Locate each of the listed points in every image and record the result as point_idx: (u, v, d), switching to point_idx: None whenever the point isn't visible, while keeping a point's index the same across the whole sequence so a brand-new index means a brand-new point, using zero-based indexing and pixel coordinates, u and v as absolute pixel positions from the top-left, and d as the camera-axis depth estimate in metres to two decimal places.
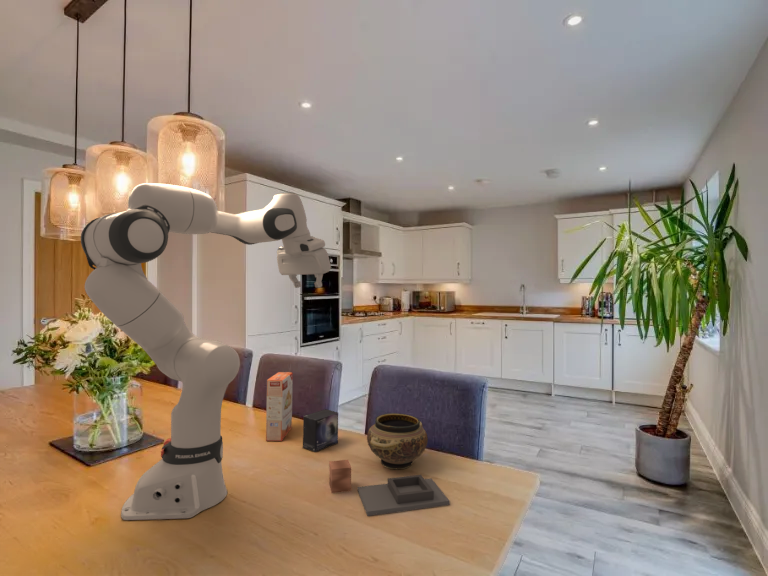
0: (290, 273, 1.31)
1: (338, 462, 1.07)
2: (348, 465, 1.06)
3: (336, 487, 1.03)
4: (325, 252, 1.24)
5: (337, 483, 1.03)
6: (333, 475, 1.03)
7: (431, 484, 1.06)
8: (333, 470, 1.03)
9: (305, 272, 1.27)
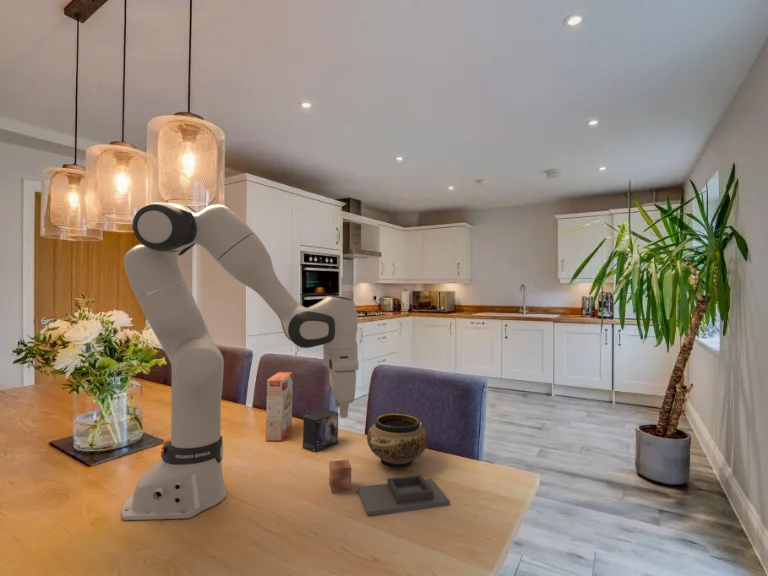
0: (331, 387, 1.10)
1: (338, 462, 1.07)
2: (348, 465, 1.06)
3: (336, 487, 1.03)
4: (351, 378, 0.97)
5: (337, 483, 1.03)
6: (333, 475, 1.03)
7: (431, 484, 1.06)
8: (333, 470, 1.03)
9: (335, 393, 1.04)
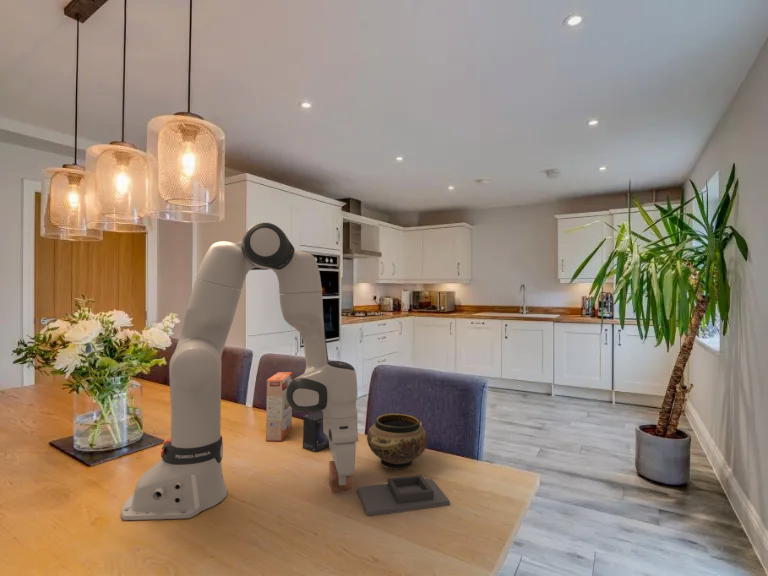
0: None
1: None
2: None
3: (336, 487, 1.03)
4: (351, 450, 0.97)
5: (337, 483, 1.03)
6: (333, 475, 1.03)
7: (431, 484, 1.06)
8: (333, 470, 1.03)
9: (334, 461, 1.03)
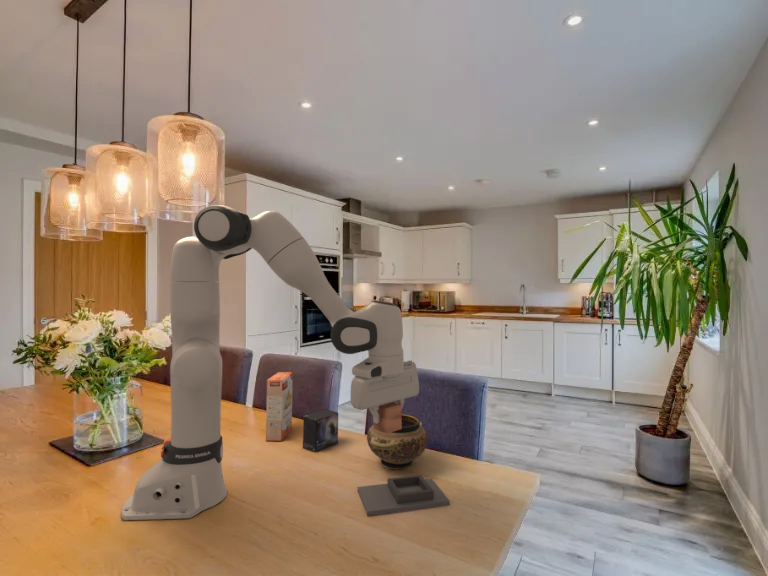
0: None
1: (390, 403, 1.05)
2: (389, 407, 1.01)
3: (376, 424, 1.03)
4: (359, 385, 0.96)
5: None
6: None
7: (431, 484, 1.06)
8: None
9: None
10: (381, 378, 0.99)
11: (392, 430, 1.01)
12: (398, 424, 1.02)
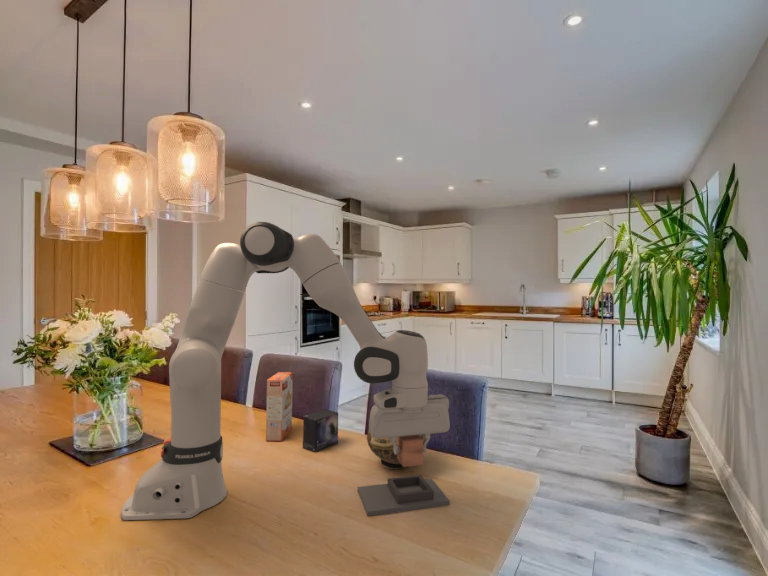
0: None
1: (414, 436, 1.02)
2: (409, 440, 0.99)
3: (398, 455, 1.02)
4: (374, 413, 0.98)
5: None
6: (397, 441, 1.03)
7: (431, 484, 1.06)
8: None
9: None
10: (397, 410, 0.98)
11: (410, 464, 0.99)
12: (418, 459, 0.99)
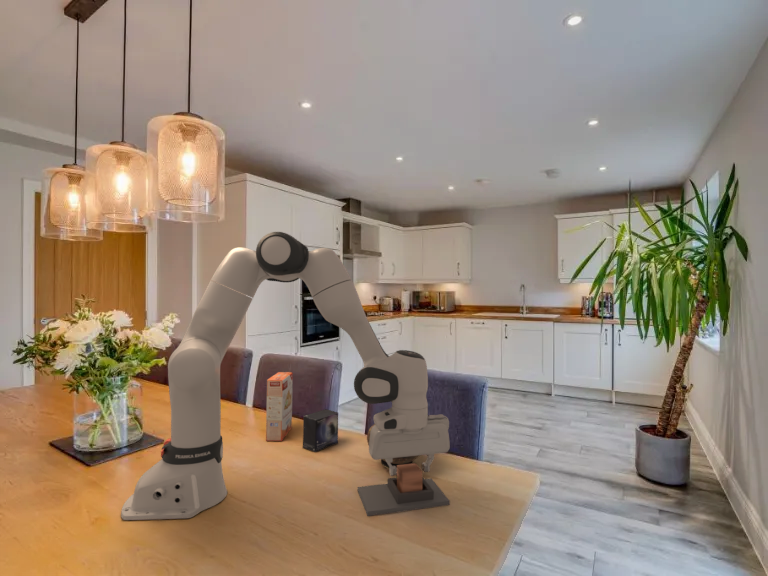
0: None
1: (414, 467, 1.02)
2: (408, 472, 0.99)
3: (398, 486, 1.02)
4: (373, 435, 0.98)
5: (398, 482, 1.02)
6: (397, 472, 1.03)
7: (431, 484, 1.06)
8: (397, 467, 1.03)
9: None
10: (397, 431, 0.98)
11: None
12: None
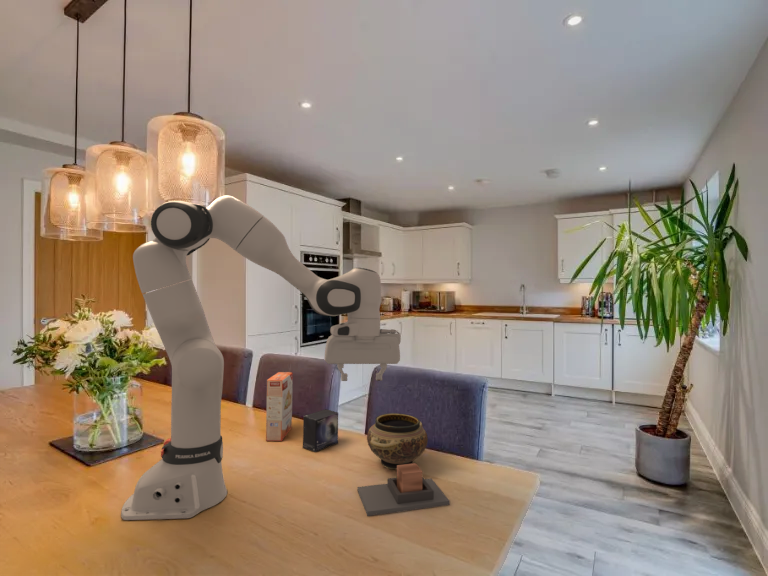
0: None
1: (414, 467, 1.02)
2: (408, 472, 0.99)
3: (398, 486, 1.02)
4: (328, 341, 1.06)
5: (398, 482, 1.02)
6: (397, 472, 1.03)
7: (431, 484, 1.06)
8: (397, 467, 1.03)
9: None
10: (350, 338, 1.06)
11: None
12: None
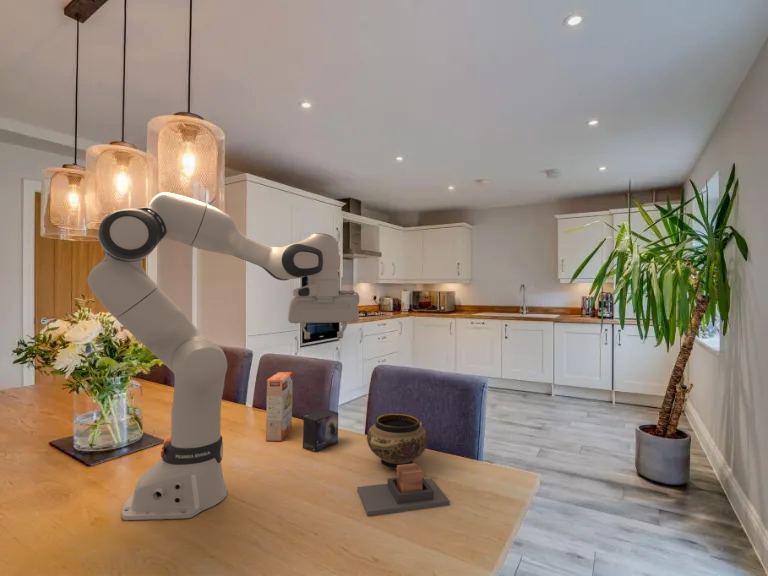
0: None
1: (414, 467, 1.02)
2: (408, 472, 0.99)
3: (398, 486, 1.02)
4: (290, 302, 1.15)
5: (398, 482, 1.02)
6: (397, 472, 1.03)
7: (431, 484, 1.06)
8: (397, 467, 1.03)
9: None
10: (310, 298, 1.14)
11: None
12: None
